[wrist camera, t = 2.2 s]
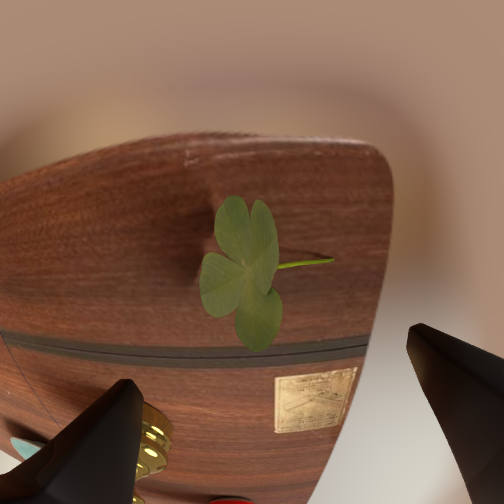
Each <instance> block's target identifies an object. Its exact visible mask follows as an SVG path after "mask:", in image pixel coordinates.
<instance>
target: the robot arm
mask: <svg viewBox="0 0 504 504" xmlns="http://www.w3.org/2000/svg"><path fill="white" fill-rule="evenodd" d="M406 348H407V353H408V355H409V358H410V360H411V363H412V365H413V367H414V370H415V372H416V375H417V378H418V380H419V383H420V385H421V388H422V390H423V392H424V394H425V396H426V398H427V400H428V402H429V404H430V406H431V408H432V410H433V412H434V414H435V416H436V418H437V420H438V422H439V424H440V426H441V428H442V431H443V433H444V435H445V437H446V439H447V441H448V444H449V446H450V448H451V450H452V453H453V455H454V457H455V460H456V462H457V464H458V467H459V469H460V472H461V474H462V477H463V479H464V482H465V485H466V488H467V490H468V493H469V496H470V499H471V501H472V504H504V359H503V358H501V357H498V356H496V355H494V354H492V353H489V352H487V351H485V350H482V349H480V348H478V347H476V346H473V345H471V344H469V343H466V342H464V341H462V340H460V339H457V338H455V337H453V336H450V335H448V334H446V333H443V332H441V331H439V330H436V329H434V328H432V327H430V326H427V325H425V324H423V323H419V324H416V325H414V326H411V327H410V329H409V332H408V339H407V345H406ZM143 404H144V398H143V395H142V393H141V392H140V390H139V389H138V387H137V386H136V384H135V383H134V381H133V380H131V379H120V380H119V381H117V382H116V383H115V384H114V385H113V386H112V387H111V388H110V389H108V390H107V391H106V392H105V393H104V394H103V395H102V396H101V397H99V398H98V399H97V400H96V401H95V402H94V403H93V404H92V405H90V406H89V407H88V408H87V409H86V410H85V411H84V412H82V413H81V414H80V415H79V416H78V417H77V418H76V419H75V420H73V421H72V422H71V423H70V424H69V425H68V426H67V427H65V428H64V429H63V430H62V431H61V432H60V433H59V434H57V435H56V436H55V437H54V438H53V439H52V440H50V441H49V442H48V443H47V444H46V445H45V446H44V447H42V448H41V449H40V450H39V451H37V452H36V453H35V454H33V455H32V456H31V457H29V458H28V459H27V460H25V461H24V462H22V463H21V464H19V465H18V466H17V467H15V468H14V469H12V470H11V471H9V472H8V473H5V474H2V475H0V504H133V496H134V487H135V478H136V471H137V464H138V457H139V450H140V444H141V435H142V419H143Z"/></svg>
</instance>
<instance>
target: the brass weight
mask: <svg viewBox="0 0 504 504" xmlns="http://www.w3.org/2000/svg"><path fill="white" fill-rule="evenodd" d="M172 435H173V427H172V424H171V423H170V421H169V420H168V419H167V418H166V417H165V416H164V415H163V414H162V413H160V412H159V411H158V410H156V409H154V408H153V407H151V406H149V405H147V404H145V403H144V404H143V419H142V435H141V444H140V450H139V457H138V464H137V471H136V478H135V482H136V481H137V480H139V479H141V478H145V477H148V476H149V474H156V473H160V472H162V471H164V470H165V469H166V468H167V466H168V455H167V452H168V451H169V450H170V449H171V440H172ZM133 504H145V501H144V500H143V499H142V498H141V497H140V495H139V494H138V493H137V491H136V489H135V487H134V496H133Z"/></svg>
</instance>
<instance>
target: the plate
mask: <svg viewBox="0 0 504 504" xmlns="http://www.w3.org/2000/svg"><path fill="white" fill-rule="evenodd" d="M10 441H11V443H12V445H13V446H14V448H15V449H16V450H17V451H18V452H19V454H20V455H21V456H22V457H24V458H25V459H26V460H27V459H28V458H29V457H31V456H32V455H33V454H35V453H36V452H37V451H39V450H40V449H41V448H42V447H44V446H45V445H46V444H44V443H41V442H37V441H30V440H26V439H21V438H18V437H11V438H10Z"/></svg>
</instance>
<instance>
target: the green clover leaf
mask: <svg viewBox="0 0 504 504" xmlns="http://www.w3.org/2000/svg"><path fill="white" fill-rule="evenodd" d="M214 225H215V227H214V228H215V230H214V231H215V237H216V240H217V243H218V245H219V247H220V248H221V249H222V251H223V252H224V253H225V254H226V256H228V257H230V258H231V259H232V260H233V261H234V262H233V261H231V260H230V259H228V258H226V257H224V256H222V255H221V254H220V255H219V254H217V253H215V252H214V253H212V252H209V253H207V254H206V255H205V256H204V258H203V261H202V273H201V274H200V278H199V287H200V295H201V300H202V304H203V307H204V308H205V310H206V311H207V313H209V314H210V315H211V316H213V317H215V318H220V317H221V318H222V317H224V316H226V315H228V314H230V313H232V312H233V310H234V309H235V308H236V309H237V310H236V316H235V328H236V332H237V335H238V337H239V339H240V340H241V342H242V343H243V344H244V345H245V346H246V347H247V348H248V349H250V350H251V351H252V352H254V353H255V352H260V351H262V350H264V349H266V348H267V347H268V346H269V345H271V343H272V342H273V340H274V338H275V337H276V335H277V333H278V331H279V328H280V323H281V321H282V312H283V311H282V307H283V305H282V302H281V299H280V295H279V294H278V293H277V292H276V290H275V289H274V288H272V287H271V282H272V280H273V276H274V273H275V272H276V269H279V268H286V267H292V266H298V265H306V264H318V263H327V262H333V261H334V258H329V259H318V260H306V261H297V262H290V263H283V264H279V245H278V237H277V230H276V226H275V222H274V219H273V216H272V214H271V212H270V211H269V208H268V207H267V206H266V205H265V203H264V201H261V200H259V199H258V200H256V201H255V202H254V205H253V207H252V211H251V220H250V219H249V212H248V209H247V205H246V203H245V201H244V200H243V199H242V198H241V197H239V196H235V195H234V196H232V195H231V196H229V197H227V198H226V199H225V201H224V202H223V204H222V205H221V206H220V208H219V209H218V211H217V213H216V218H215V224H214ZM249 230H250V233H249ZM235 262H236V263H235Z"/></svg>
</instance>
